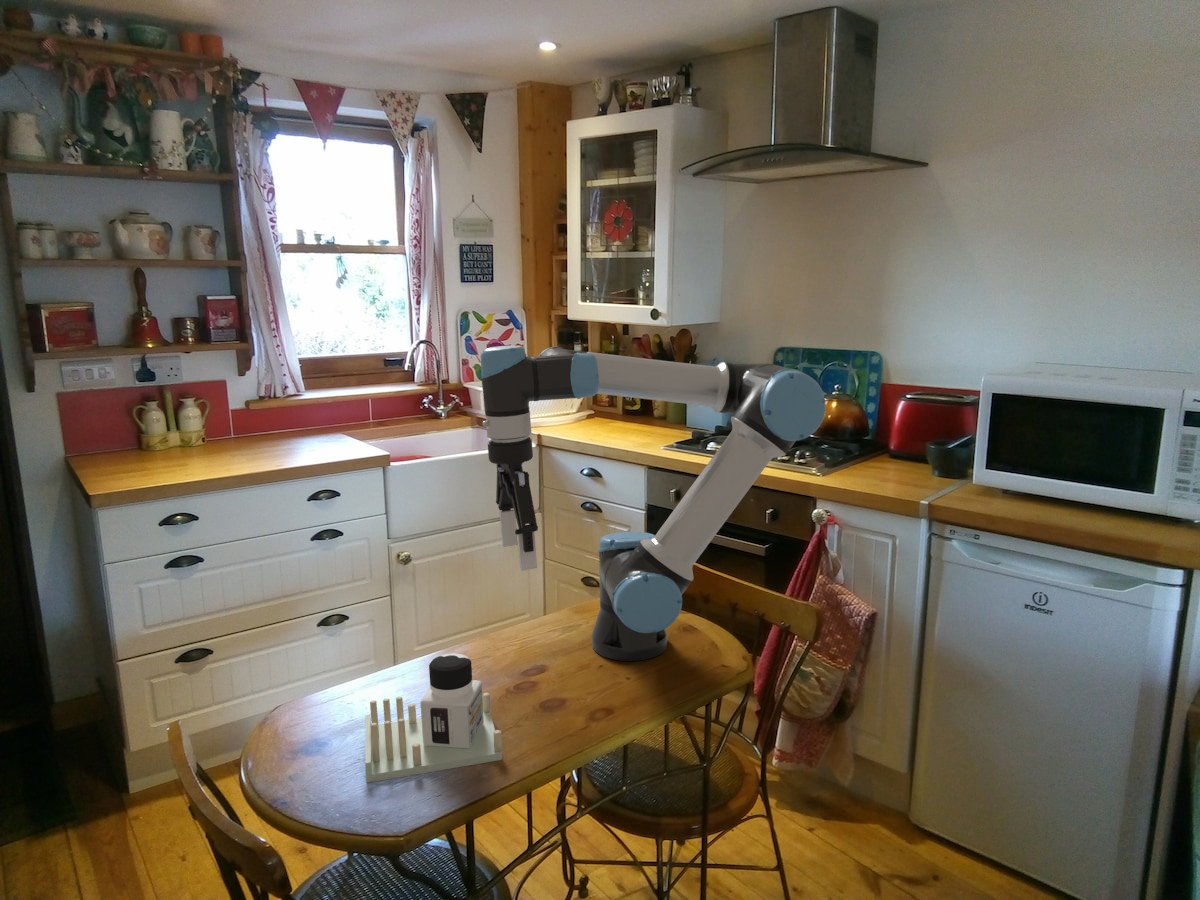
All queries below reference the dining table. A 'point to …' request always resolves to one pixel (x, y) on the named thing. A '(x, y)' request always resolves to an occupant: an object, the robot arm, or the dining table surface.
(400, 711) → the dish rack
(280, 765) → the dining table surface
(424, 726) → the container
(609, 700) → the dining table surface
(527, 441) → the robot arm
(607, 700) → the dining table surface
